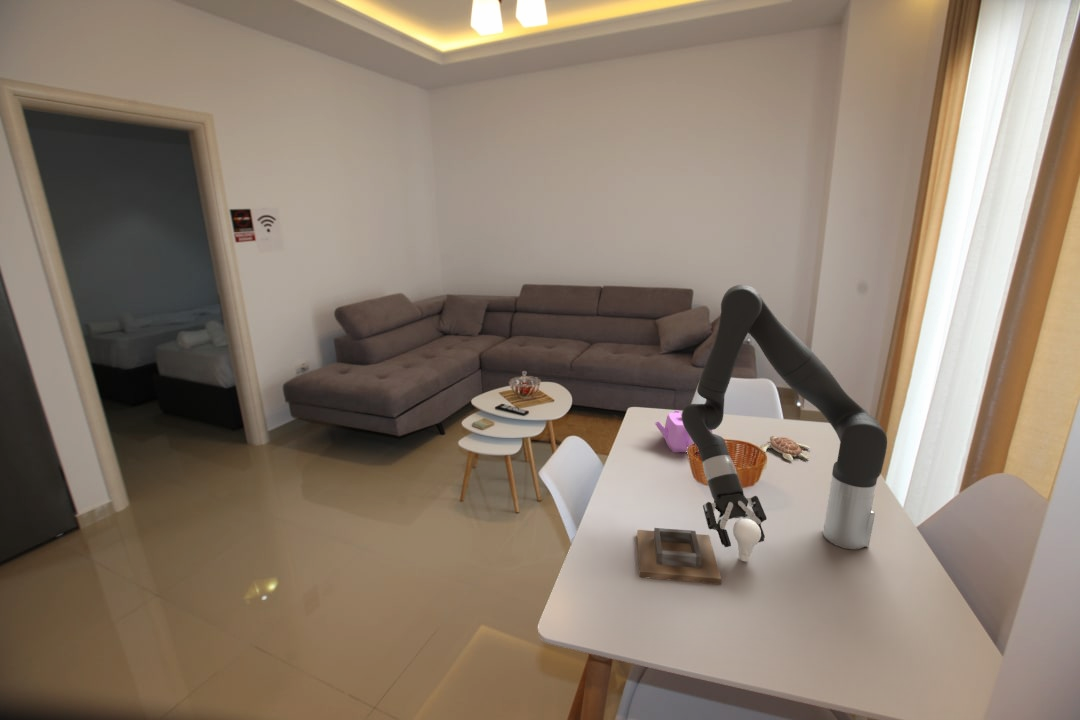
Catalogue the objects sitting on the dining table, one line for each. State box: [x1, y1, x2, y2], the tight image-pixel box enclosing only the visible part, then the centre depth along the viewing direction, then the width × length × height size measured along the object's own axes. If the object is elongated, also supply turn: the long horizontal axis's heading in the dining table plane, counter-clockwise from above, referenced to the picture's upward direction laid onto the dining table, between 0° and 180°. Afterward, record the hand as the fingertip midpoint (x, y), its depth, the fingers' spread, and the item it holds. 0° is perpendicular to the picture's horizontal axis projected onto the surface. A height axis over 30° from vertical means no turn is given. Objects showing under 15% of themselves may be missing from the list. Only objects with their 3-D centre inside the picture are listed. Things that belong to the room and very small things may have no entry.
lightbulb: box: [732, 518, 761, 562], centre depth 115 cm, size 6×6×11 cm
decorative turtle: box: [759, 435, 811, 461], centre depth 170 cm, size 18×17×5 cm
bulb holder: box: [636, 527, 722, 585], centre depth 117 cm, size 18×16×4 cm
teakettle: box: [654, 409, 713, 454], centre depth 176 cm, size 17×17×12 cm
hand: (744, 544), depth 114 cm, fingers open, 8 cm apart
